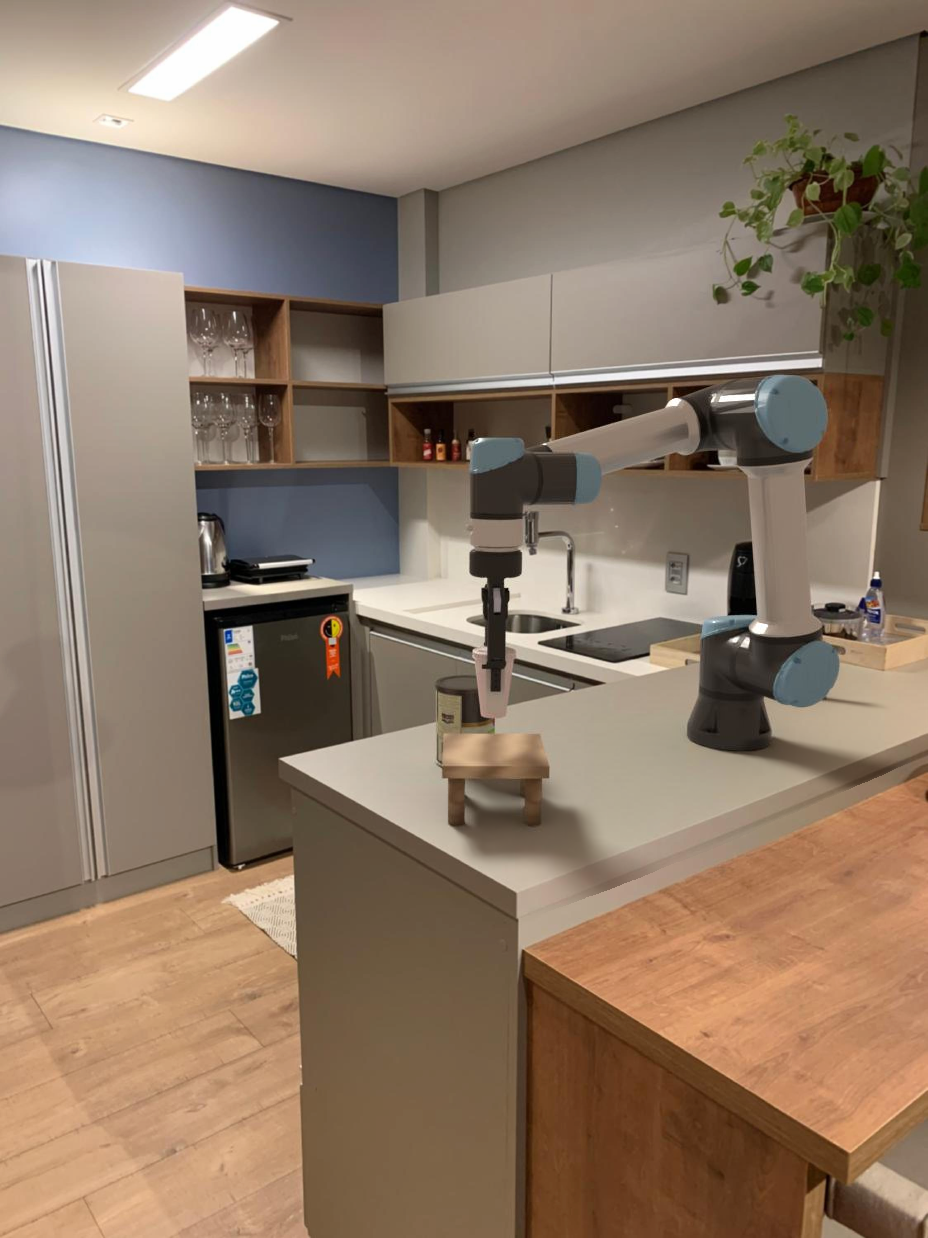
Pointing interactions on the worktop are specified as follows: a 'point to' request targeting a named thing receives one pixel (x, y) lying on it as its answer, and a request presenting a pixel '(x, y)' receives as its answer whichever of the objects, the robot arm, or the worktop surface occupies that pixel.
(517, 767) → the tan square-topped part
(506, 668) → the smoothie
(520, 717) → the worktop surface
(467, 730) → the coffee can
